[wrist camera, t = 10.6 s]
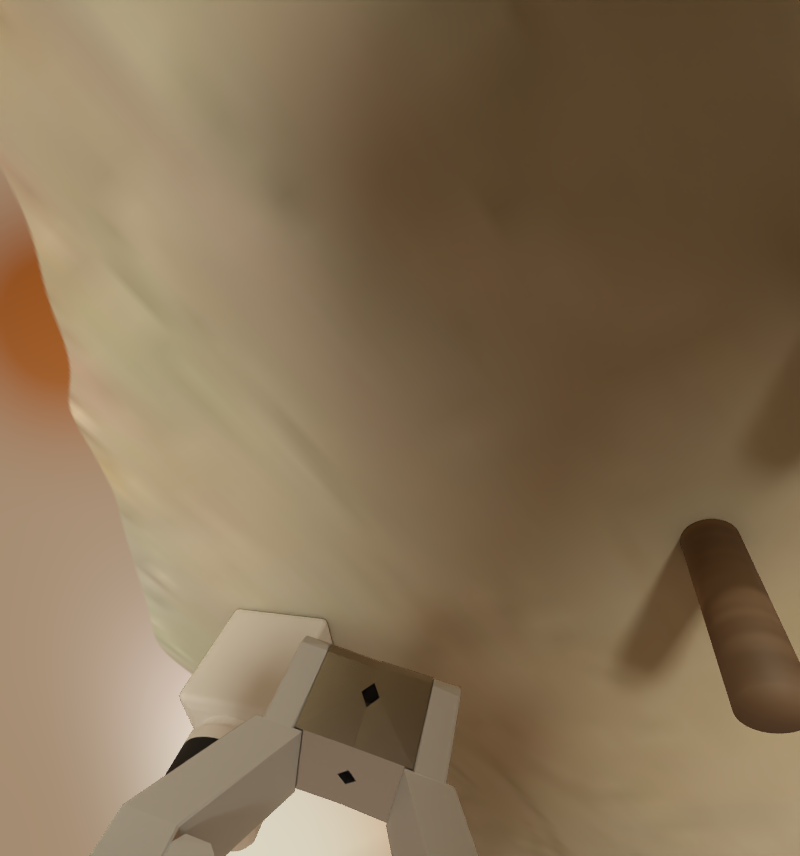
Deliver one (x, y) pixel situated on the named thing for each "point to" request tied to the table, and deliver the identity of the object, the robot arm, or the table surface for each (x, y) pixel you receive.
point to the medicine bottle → (242, 677)
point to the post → (743, 629)
